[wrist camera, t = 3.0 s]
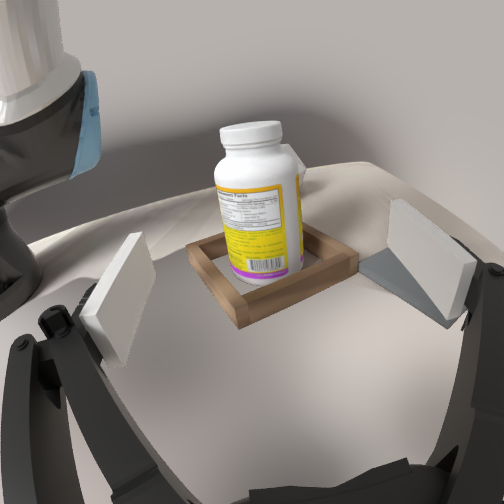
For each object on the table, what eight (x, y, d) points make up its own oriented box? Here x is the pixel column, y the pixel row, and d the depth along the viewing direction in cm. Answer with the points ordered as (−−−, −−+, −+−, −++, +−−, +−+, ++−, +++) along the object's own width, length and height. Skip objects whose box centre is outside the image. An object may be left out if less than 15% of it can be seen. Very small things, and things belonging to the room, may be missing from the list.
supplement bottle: (268, 243, 32) (254, 119, 25) (318, 264, 27) (312, 119, 21) (217, 271, 28) (190, 132, 22) (265, 300, 24) (244, 131, 17)
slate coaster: (357, 270, 25) (357, 262, 25) (418, 237, 29) (419, 230, 29) (447, 329, 17) (450, 321, 17) (494, 276, 21) (496, 269, 21)
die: (303, 190, 47) (265, 144, 46) (328, 176, 39) (283, 120, 38) (266, 221, 45) (225, 172, 44) (286, 211, 37) (237, 151, 36)
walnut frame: (189, 262, 30) (185, 245, 29) (285, 228, 34) (284, 212, 33) (238, 329, 21) (234, 308, 20) (357, 272, 25) (358, 253, 24)
